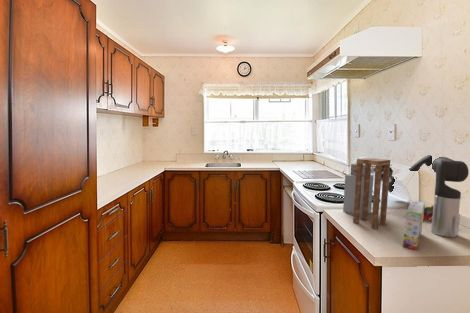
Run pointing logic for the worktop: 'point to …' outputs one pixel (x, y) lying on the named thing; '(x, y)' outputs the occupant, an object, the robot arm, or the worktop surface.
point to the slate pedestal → (350, 194)
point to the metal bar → (354, 167)
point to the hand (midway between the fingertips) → (374, 164)
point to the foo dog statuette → (428, 212)
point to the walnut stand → (377, 186)
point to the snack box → (413, 225)
